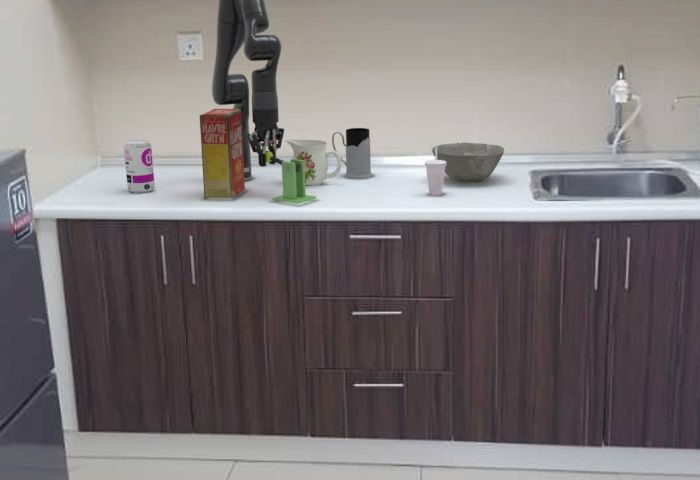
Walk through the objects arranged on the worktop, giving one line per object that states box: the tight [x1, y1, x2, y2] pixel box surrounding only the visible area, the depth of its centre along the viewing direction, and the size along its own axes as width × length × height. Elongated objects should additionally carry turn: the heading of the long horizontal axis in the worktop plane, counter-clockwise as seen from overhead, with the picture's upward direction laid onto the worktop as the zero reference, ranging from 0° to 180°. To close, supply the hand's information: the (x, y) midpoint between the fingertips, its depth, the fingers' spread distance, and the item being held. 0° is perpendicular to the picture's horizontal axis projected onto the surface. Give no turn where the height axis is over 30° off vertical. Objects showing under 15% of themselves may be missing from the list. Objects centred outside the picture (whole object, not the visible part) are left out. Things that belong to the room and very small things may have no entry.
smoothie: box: [424, 146, 446, 197], centre depth 289 cm, size 6×6×14 cm
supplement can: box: [123, 139, 156, 194], centre depth 301 cm, size 8×8×15 cm
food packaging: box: [199, 108, 246, 199], centre depth 291 cm, size 13×9×25 cm
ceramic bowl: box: [431, 142, 505, 183], centre depth 308 cm, size 22×23×10 cm
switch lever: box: [265, 150, 300, 173], centre depth 286 cm, size 13×3×3 cm, turn 54°
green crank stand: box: [272, 158, 317, 205], centre depth 284 cm, size 10×8×12 cm
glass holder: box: [331, 127, 373, 180], centre depth 317 cm, size 9×14×15 cm, turn 58°
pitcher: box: [284, 139, 342, 186], centre depth 304 cm, size 11×18×14 cm, turn 74°
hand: (267, 164), depth 289 cm, fingers closed on switch lever, 3 cm apart
